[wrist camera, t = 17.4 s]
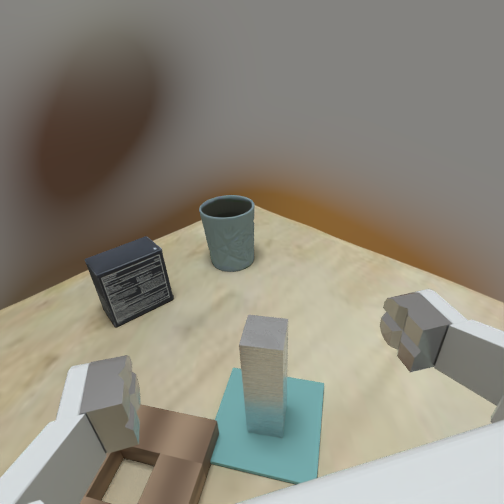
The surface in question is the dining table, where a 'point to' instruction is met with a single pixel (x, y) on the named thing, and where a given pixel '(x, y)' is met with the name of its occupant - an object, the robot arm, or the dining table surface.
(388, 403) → the dining table surface
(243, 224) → the grey-green cup
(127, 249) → the small box
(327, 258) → the dining table surface
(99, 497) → the socket block
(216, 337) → the dining table surface
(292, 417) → the mat
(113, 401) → the robot arm
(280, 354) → the metal bar
